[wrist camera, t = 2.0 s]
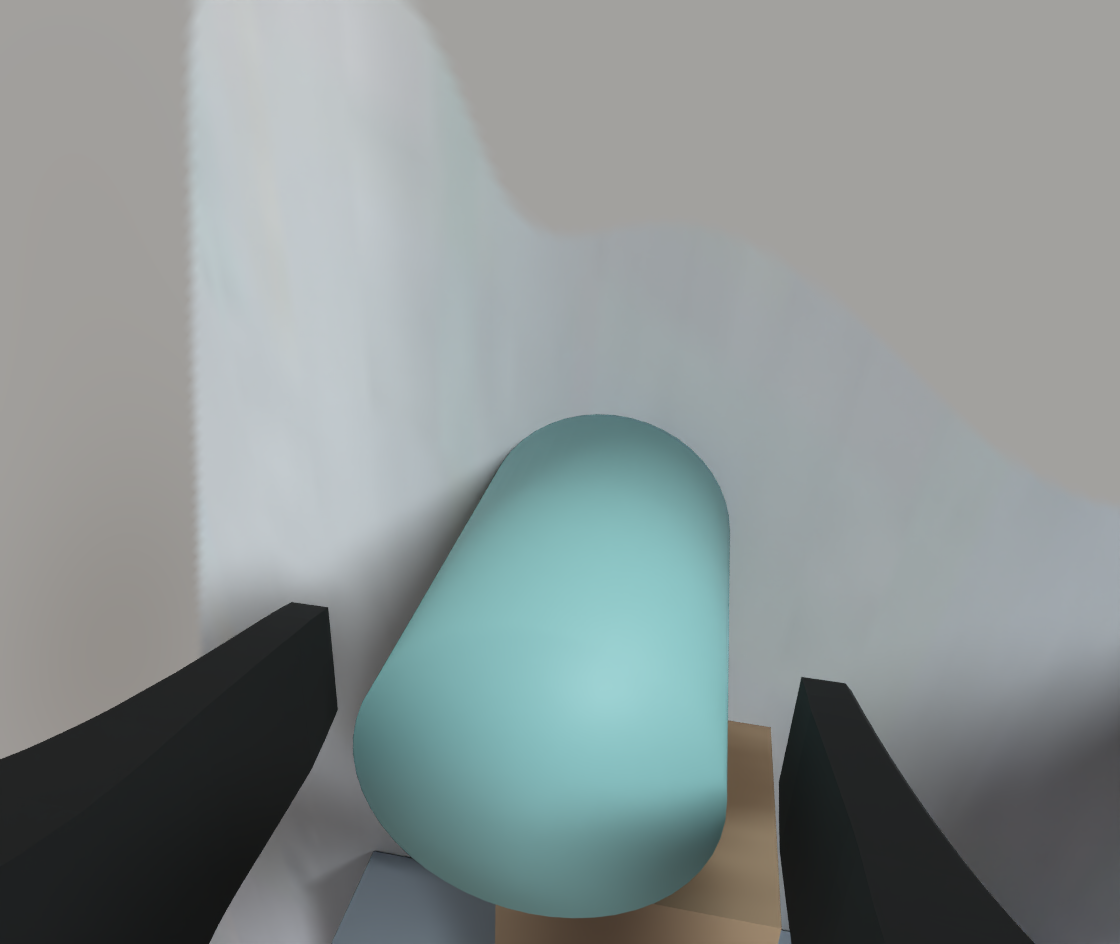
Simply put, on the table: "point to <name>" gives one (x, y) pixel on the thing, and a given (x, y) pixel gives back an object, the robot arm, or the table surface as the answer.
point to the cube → (714, 893)
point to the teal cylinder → (565, 681)
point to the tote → (418, 908)
